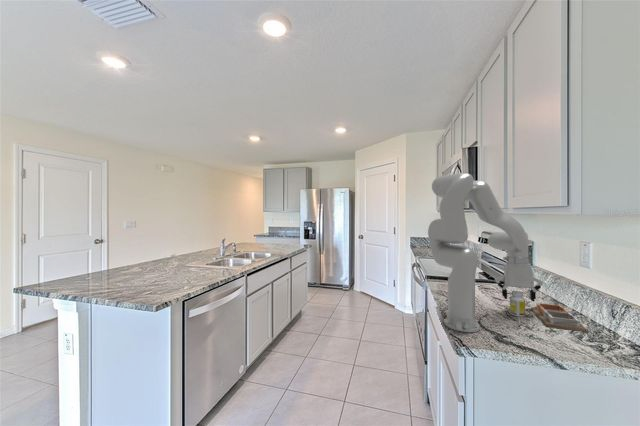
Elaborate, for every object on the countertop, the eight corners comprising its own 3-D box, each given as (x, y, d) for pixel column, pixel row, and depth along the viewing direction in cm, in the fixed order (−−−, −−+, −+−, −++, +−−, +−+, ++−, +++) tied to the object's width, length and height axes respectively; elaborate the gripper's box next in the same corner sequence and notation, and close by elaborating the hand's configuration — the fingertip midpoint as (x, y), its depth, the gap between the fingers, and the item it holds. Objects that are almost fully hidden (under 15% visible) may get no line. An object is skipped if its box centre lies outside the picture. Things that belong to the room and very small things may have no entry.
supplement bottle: (524, 313, 119) (524, 291, 119) (525, 318, 115) (525, 294, 114) (509, 311, 122) (509, 289, 122) (510, 315, 118) (509, 292, 118)
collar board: (586, 332, 101) (586, 322, 101) (546, 326, 106) (546, 317, 106) (565, 313, 118) (565, 305, 118) (531, 310, 123) (531, 302, 123)
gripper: (495, 260, 118) (496, 300, 119) (545, 262, 111) (546, 304, 112) (492, 257, 125) (493, 294, 125) (539, 259, 118) (540, 298, 118)
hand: (518, 299), depth 119 cm, fingers open, 9 cm apart
